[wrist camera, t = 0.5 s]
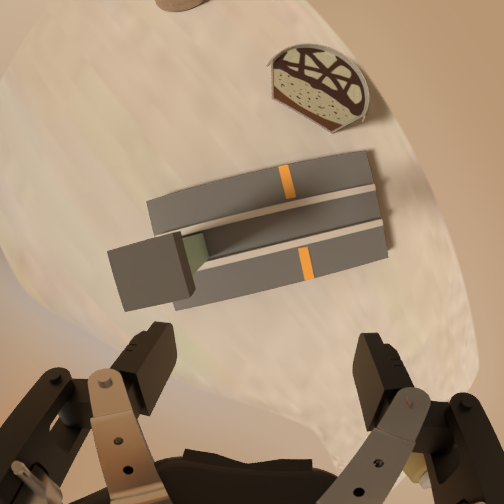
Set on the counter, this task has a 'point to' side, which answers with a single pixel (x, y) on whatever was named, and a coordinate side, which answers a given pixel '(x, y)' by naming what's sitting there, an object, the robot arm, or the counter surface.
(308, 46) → the food container
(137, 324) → the counter surface
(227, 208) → the slider console
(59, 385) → the robot arm
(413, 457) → the squeeze bottle
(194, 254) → the fader tab
